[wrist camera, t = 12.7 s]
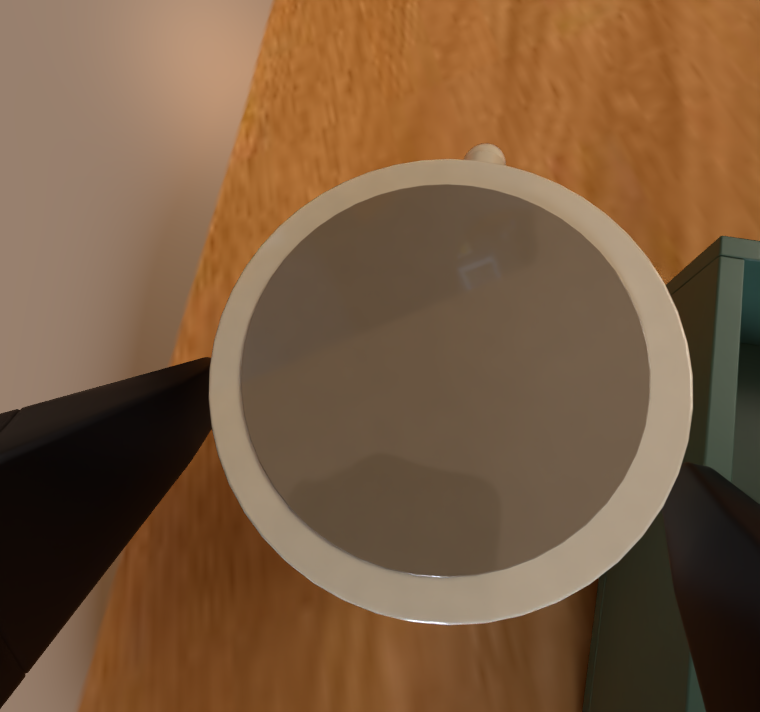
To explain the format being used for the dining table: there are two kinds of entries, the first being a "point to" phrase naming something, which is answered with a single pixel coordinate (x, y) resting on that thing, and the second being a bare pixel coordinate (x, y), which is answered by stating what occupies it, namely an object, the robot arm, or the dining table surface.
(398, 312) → the cream hollow round container
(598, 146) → the dining table surface
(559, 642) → the dining table surface
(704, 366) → the chest
